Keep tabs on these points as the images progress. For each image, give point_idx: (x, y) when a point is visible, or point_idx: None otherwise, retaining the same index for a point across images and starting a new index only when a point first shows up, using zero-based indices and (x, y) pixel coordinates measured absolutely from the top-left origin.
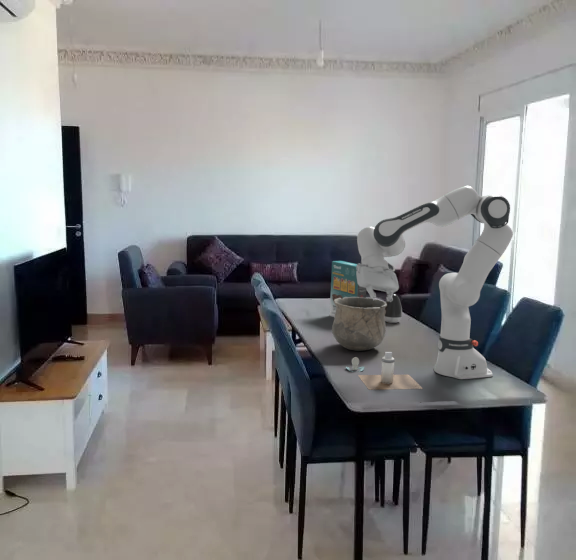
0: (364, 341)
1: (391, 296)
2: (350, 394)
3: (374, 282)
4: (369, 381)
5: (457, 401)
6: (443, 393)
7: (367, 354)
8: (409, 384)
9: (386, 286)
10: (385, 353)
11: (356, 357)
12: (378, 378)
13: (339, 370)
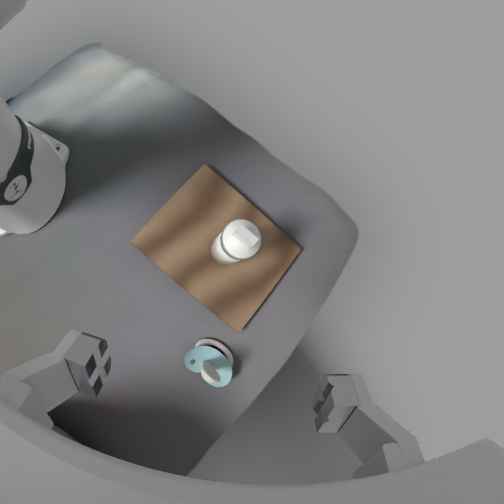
0: (74, 440)
1: (63, 353)
2: (329, 271)
3: (388, 501)
4: (257, 281)
5: (204, 102)
6: (180, 134)
7: (64, 422)
8: (201, 199)
9: (85, 456)
10: (255, 242)
11: (209, 376)
12: (220, 279)
13: (223, 397)
